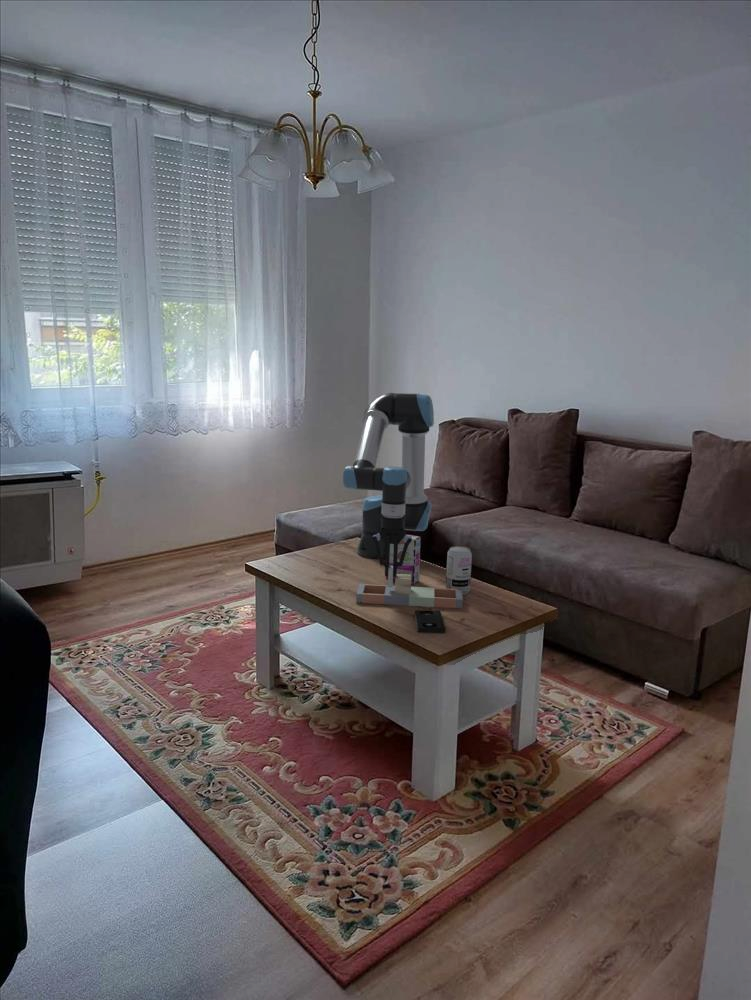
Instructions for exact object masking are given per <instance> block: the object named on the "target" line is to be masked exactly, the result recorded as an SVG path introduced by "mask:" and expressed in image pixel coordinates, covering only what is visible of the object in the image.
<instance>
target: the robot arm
mask: <svg viewBox="0 0 751 1000" xmlns="http://www.w3.org/2000/svg"><path fill="white" fill-rule="evenodd" d="M434 414H435V413H434V405H433V399H432V397H431V396H430V395H428V394H420V393H403V392H402V393H396V392H388V393H384V394H382V395H380V396H378V397H377V398H375V399H374V400H373V401H372V402H370V404H368V406H367V408H366V409H365V411H364V413H363V417H362V422H363V428H362V431H361V435H360V438H359V441H358V445H357V449H356V453H355V456H354V459H353V463H352V465H347V466H345V467H344V470H343V474H342V483H343V486H344V487H345V488H346V489H349V490H350V489H352V490H355V491H356V490H363V491H365V490H366V491H378V492H379V491H380V492H382V493H381V494H377V495H371V496H368V497H366V498H365V499H364V500H363V503H362V524H361V525H362V527H361V529H362V531H361V532H362V533H361V536H360V539H359V542H358V545H357V551H356V552H357V554H358V555H359V556H361V557H364V558H368V559H378V563H379V566H383V567H384V576H385V578H386V577H388V580H387V585H388V587H392V586H394V581H393V577H396V575H397V567H399V566H402V564H403V561H404V558H405V555H406V551H407V548H408V545H409V544H410V543H411V541H412V537H409V536H407V535H408V534H407V532H406V531H413V532H417V531H418V532H424V531H425V530H426V529H428V525H429V521H430V520H429V519H430V514H431V509H432V502H430V501H429V500H428V496H427V495H426V494H425V461H426V460H425V457H426V455H425V453H426V435H427V434H428V433H429V432H430V428H432V427H434V424H435V418H434V416H435V415H434ZM389 425H393V426H398V428H397V429H398V431H399V433H400V434H401V435H402V436H401V437H402V438H401V443H402V445H401V466H387V467H376V465H377V460H378V457H379V453H380V450H381V446H382V441H383V437H384V432H385V430H386V429H387V428H388V426H389ZM403 538H405V539H404V542H405V544H404V547H403V551H402V554H401V557H400V561H399V562H397V556H398V544H399V543H400V542H401V540H402V539H403ZM390 544H394V554H393V566H389V560H390Z"/></svg>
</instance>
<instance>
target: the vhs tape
mask: <svg viewBox="0 0 751 1000" xmlns="http://www.w3.org/2000/svg"><path fill="white" fill-rule="evenodd" d="M414 619H415V624H416V629H417V633H419V634H420V633H421V634H422V633H426V634H445V633H446V626H445V623H444V619H443V615H442V611H441V610H439V609H438V610H431V609H430V610H424V609H422V610H421V609H420V610H419V609H416V610H414Z"/></svg>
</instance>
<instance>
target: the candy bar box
mask: <svg viewBox="0 0 751 1000" xmlns="http://www.w3.org/2000/svg"><path fill="white" fill-rule="evenodd" d="M406 535H407V536H409V537H412V541H411V543H410V544H409V545H408V548H407V551H406V555H405V558H404V561H403V564H402V566H399V567H397V574H408V575H411V585H415V584H416V583H419V581H420V572H421V571H420V565H421V564H420V563H421V542H422V539H421V538H422V537H421V536H418V535H413V534H406ZM404 539H405V538H403V539H402V540H401V542H400V543H399V544H398V556H397V562H399V561H400V557H401V554H402V551H403V547H404V544H405V542H404ZM393 554H394V544H390V560H389V566H393ZM385 579H386V580H387V581H388V577H385ZM393 582H395V577H393Z"/></svg>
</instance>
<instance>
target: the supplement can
mask: <svg viewBox="0 0 751 1000" xmlns="http://www.w3.org/2000/svg"><path fill="white" fill-rule="evenodd" d="M446 555H447V557H446V576H445V588H447V589H462V596H464V595H467V594H468V593H469V592H470V590H471V576H472V574H471V573H472V561H473V559H472V557H473V553H472V551H471V549H470V548H468V547H467V546H458V545H457V546H451V547H449V549H448V550H447V554H446Z"/></svg>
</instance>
